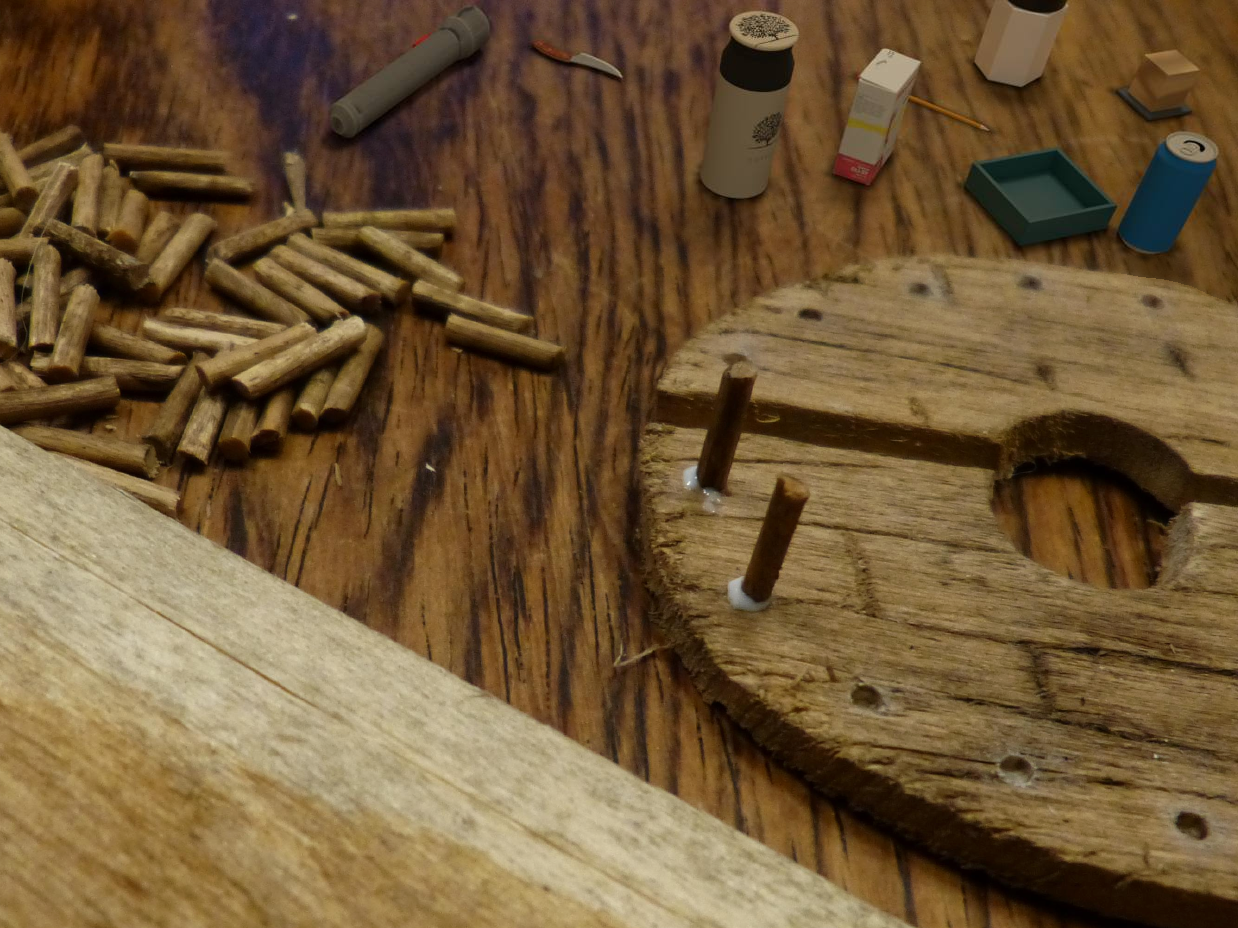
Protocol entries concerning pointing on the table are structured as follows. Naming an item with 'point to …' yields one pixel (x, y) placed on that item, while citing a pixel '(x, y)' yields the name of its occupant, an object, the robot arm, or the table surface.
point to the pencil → (945, 112)
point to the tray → (1039, 196)
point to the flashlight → (411, 71)
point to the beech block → (1163, 80)
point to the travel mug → (749, 104)
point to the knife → (575, 58)
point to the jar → (1019, 39)
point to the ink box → (875, 115)
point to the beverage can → (1168, 192)
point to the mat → (1144, 112)
